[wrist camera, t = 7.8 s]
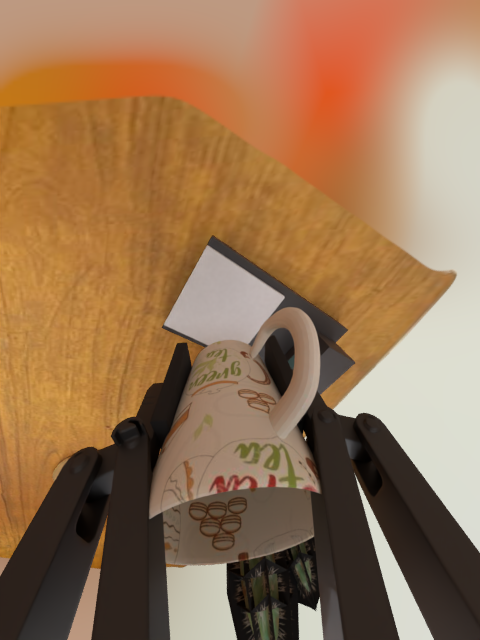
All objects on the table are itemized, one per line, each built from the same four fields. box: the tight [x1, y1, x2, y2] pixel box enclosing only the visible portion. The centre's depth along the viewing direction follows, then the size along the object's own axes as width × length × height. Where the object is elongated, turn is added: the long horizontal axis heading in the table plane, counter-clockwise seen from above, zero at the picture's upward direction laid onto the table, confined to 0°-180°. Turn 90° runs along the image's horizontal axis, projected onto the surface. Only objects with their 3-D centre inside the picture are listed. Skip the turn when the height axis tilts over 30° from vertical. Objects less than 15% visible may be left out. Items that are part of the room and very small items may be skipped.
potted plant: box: [227, 537, 320, 640], centre depth 29 cm, size 14×14×25 cm
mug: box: [149, 307, 322, 565], centre depth 11 cm, size 8×13×10 cm, turn 157°
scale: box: [162, 235, 355, 394], centre depth 24 cm, size 23×13×7 cm, turn 56°
